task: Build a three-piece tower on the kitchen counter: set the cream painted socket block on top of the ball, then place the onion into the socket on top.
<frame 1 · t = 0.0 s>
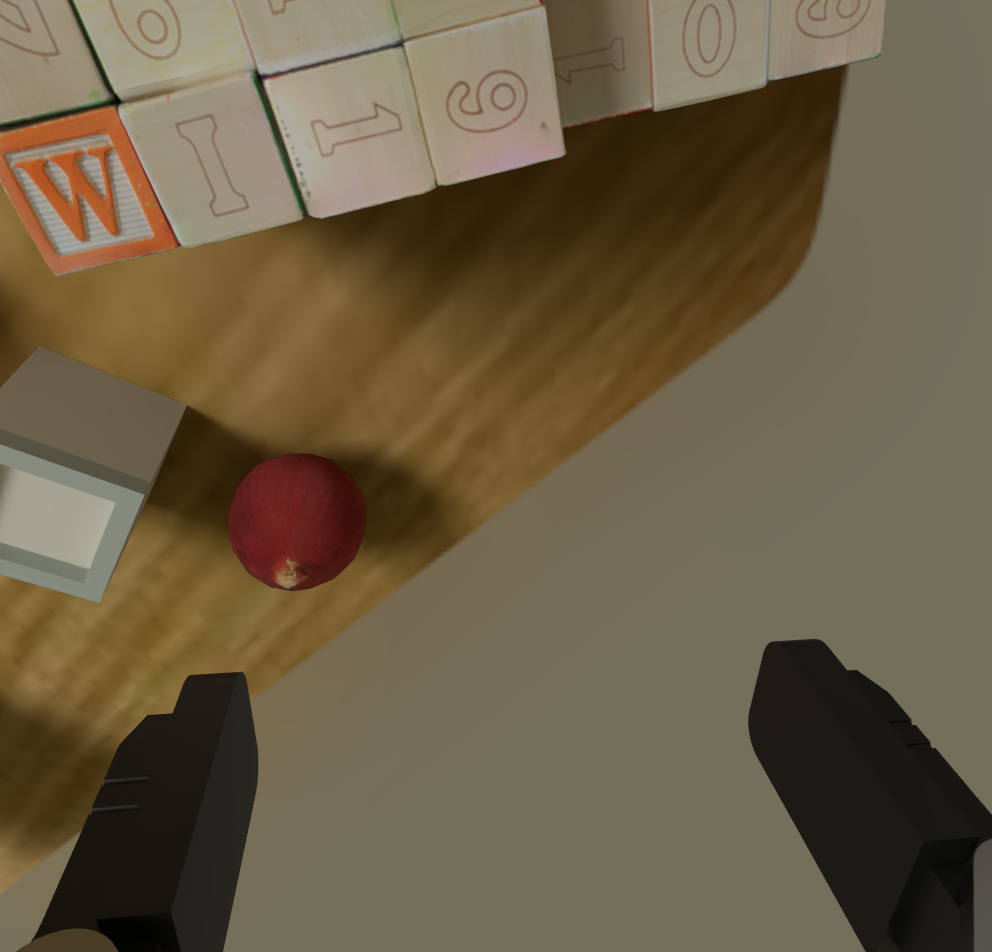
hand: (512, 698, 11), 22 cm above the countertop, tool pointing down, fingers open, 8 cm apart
stack of blocks: (439, 2, 25), on the countertop
onion: (307, 470, 35), on the countertop
socket block: (97, 429, 32), on the countertop
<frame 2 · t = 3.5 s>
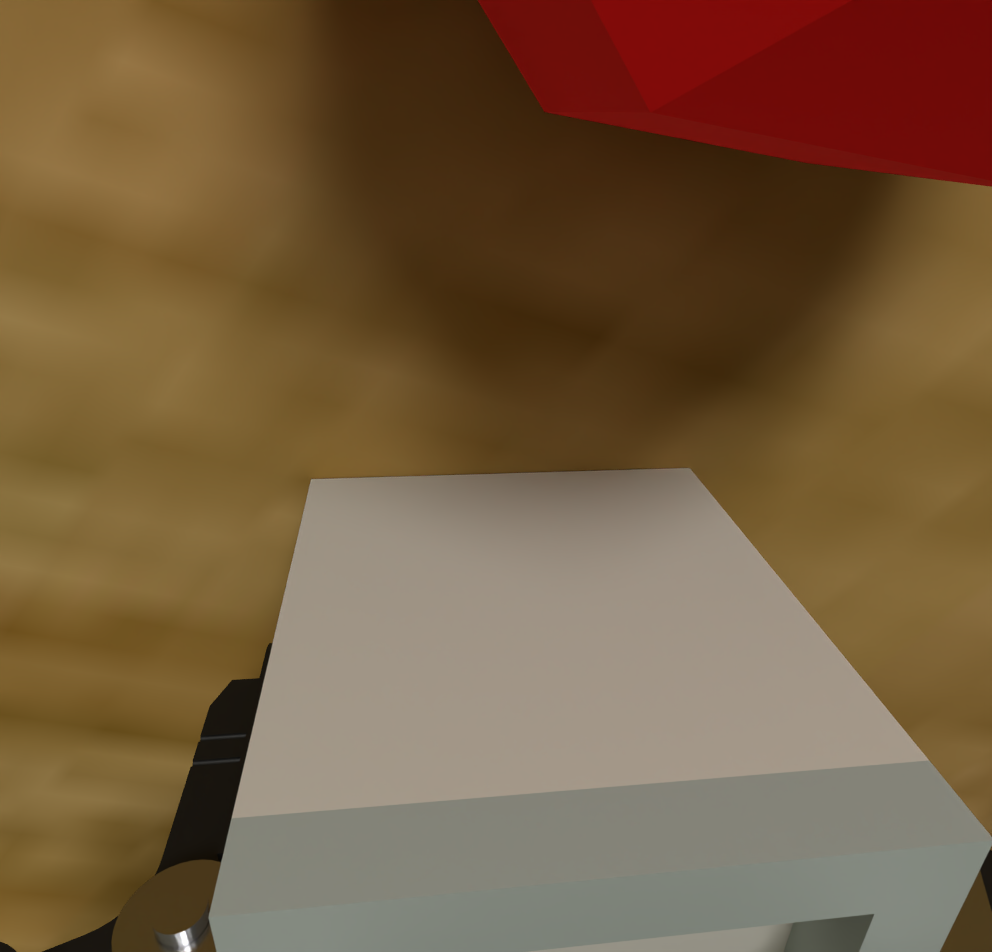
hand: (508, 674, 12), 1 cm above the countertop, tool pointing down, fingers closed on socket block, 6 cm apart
socket block: (500, 626, 13), on the countertop, touching gripper
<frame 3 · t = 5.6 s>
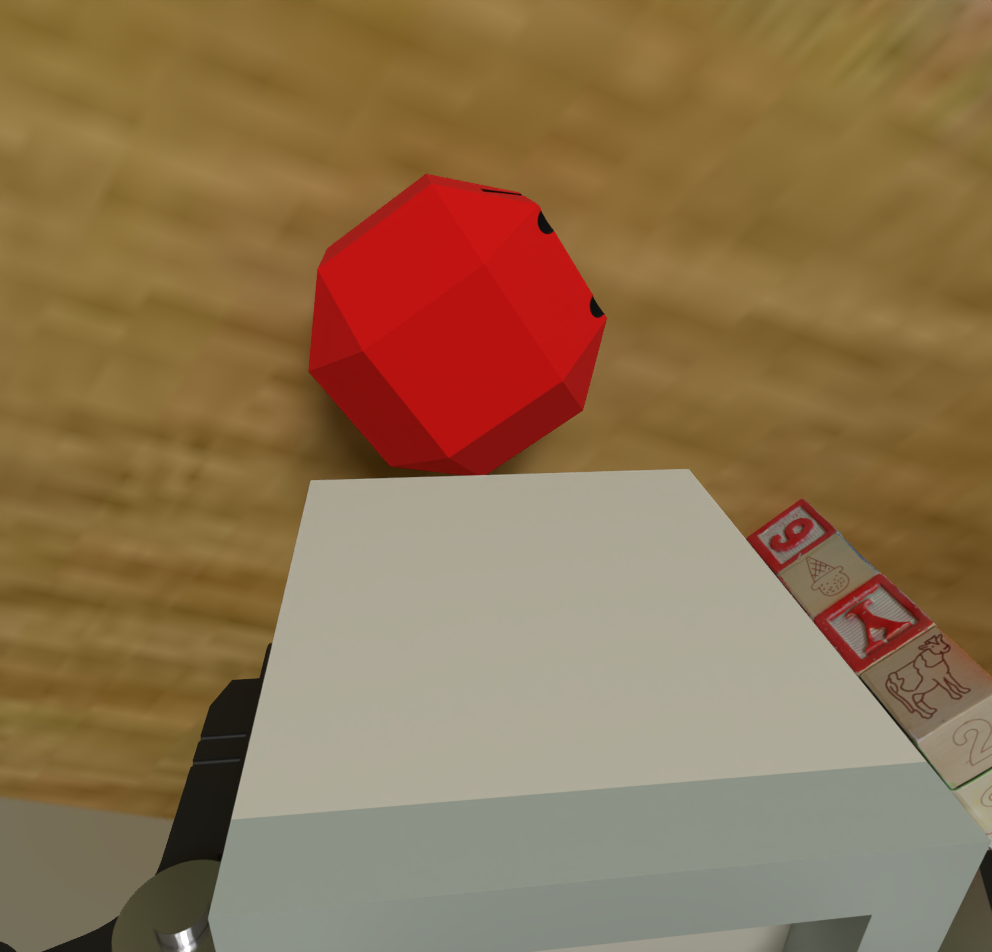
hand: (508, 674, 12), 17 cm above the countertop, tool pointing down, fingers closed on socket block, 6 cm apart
stack of blocks: (841, 663, 37), on the countertop
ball: (446, 299, 26), on the countertop
socket block: (500, 627, 13), point 16 cm above the countertop, touching gripper
when the fingers open (10 cm above the countertop, at t = 7.6 s): socket block drops 1 cm, resting on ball.
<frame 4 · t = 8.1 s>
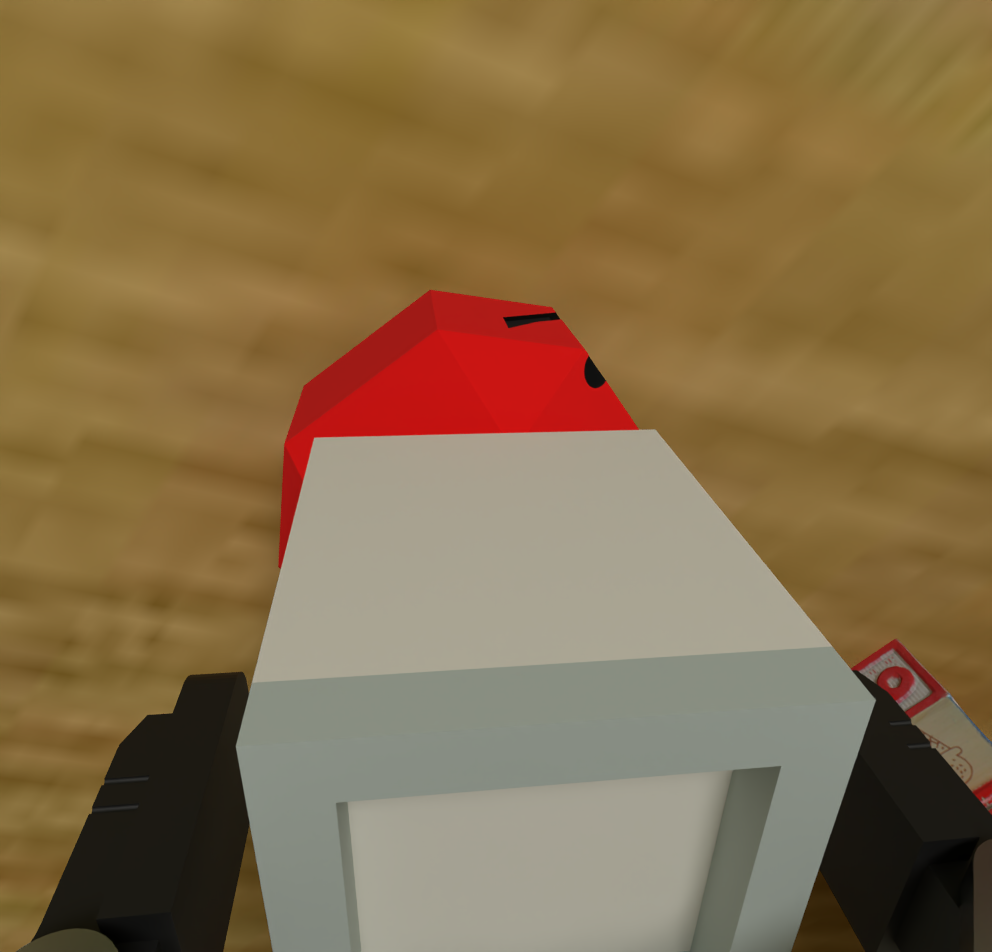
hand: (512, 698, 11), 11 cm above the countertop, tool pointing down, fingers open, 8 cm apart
stack of blocks: (935, 804, 32), on the countertop
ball: (458, 424, 21), on the countertop, touching socket block
socket block: (486, 576, 14), point 8 cm above the countertop, touching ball
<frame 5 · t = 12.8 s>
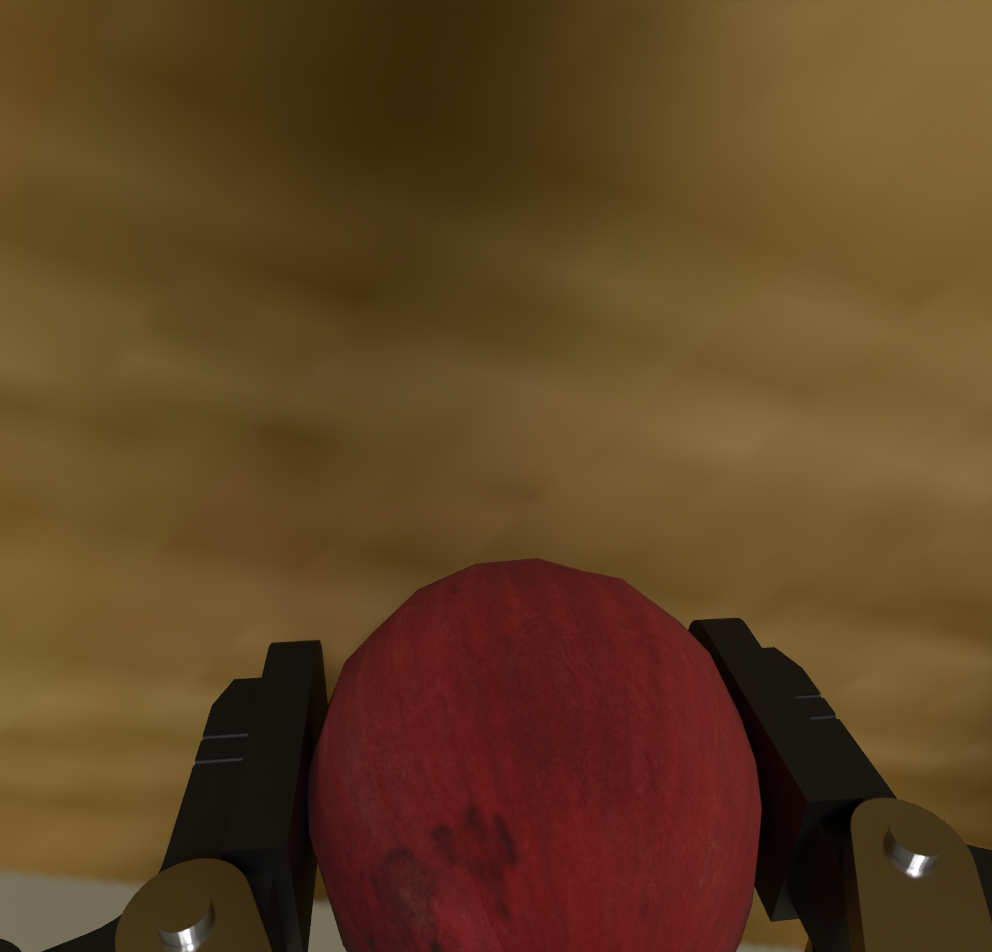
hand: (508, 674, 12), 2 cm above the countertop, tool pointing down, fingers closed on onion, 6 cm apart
onion: (494, 606, 13), on the countertop, touching gripper
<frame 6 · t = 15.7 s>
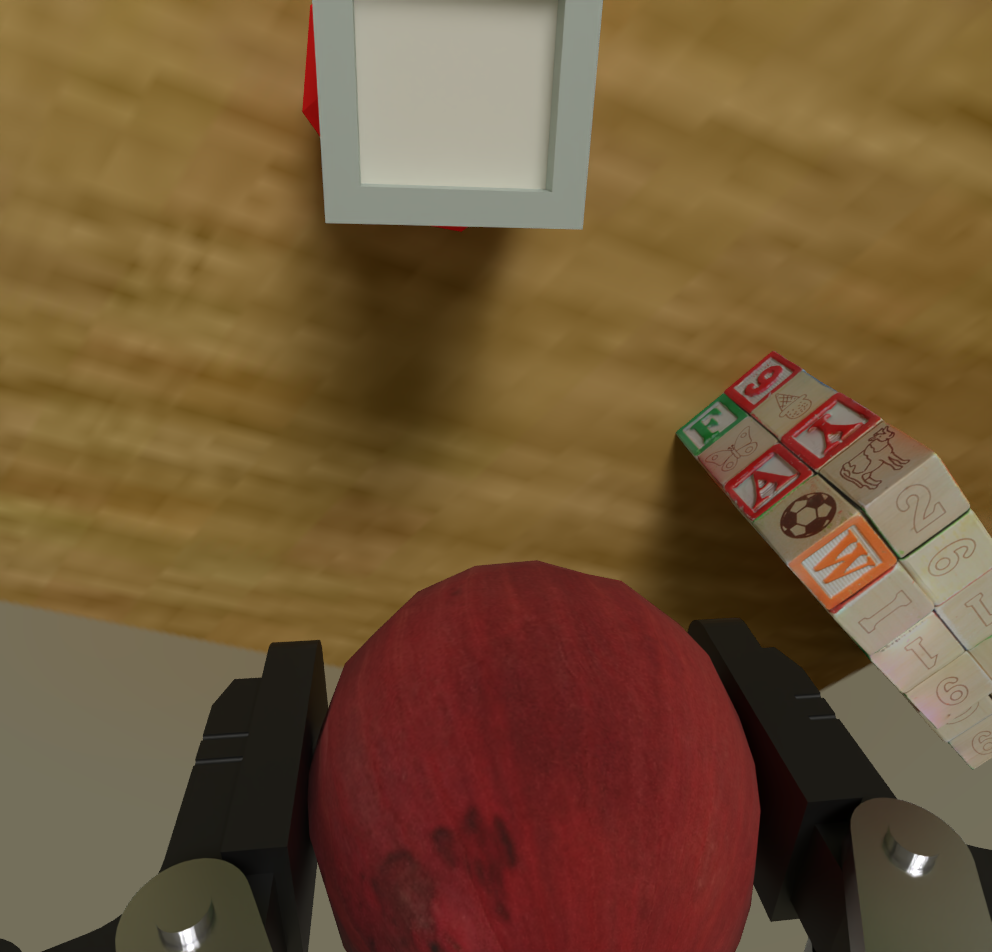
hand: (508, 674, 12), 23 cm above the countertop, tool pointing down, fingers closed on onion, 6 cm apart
stack of blocks: (821, 517, 41), on the countertop
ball: (430, 93, 29), on the countertop, touching socket block
onion: (494, 607, 13), point 21 cm above the countertop, touching gripper
socket block: (440, 88, 22), point 8 cm above the countertop, touching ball
when the fingers open (16 cm above the countertop, at t = 18.5 s): onion stays where it is, resting on socket block.
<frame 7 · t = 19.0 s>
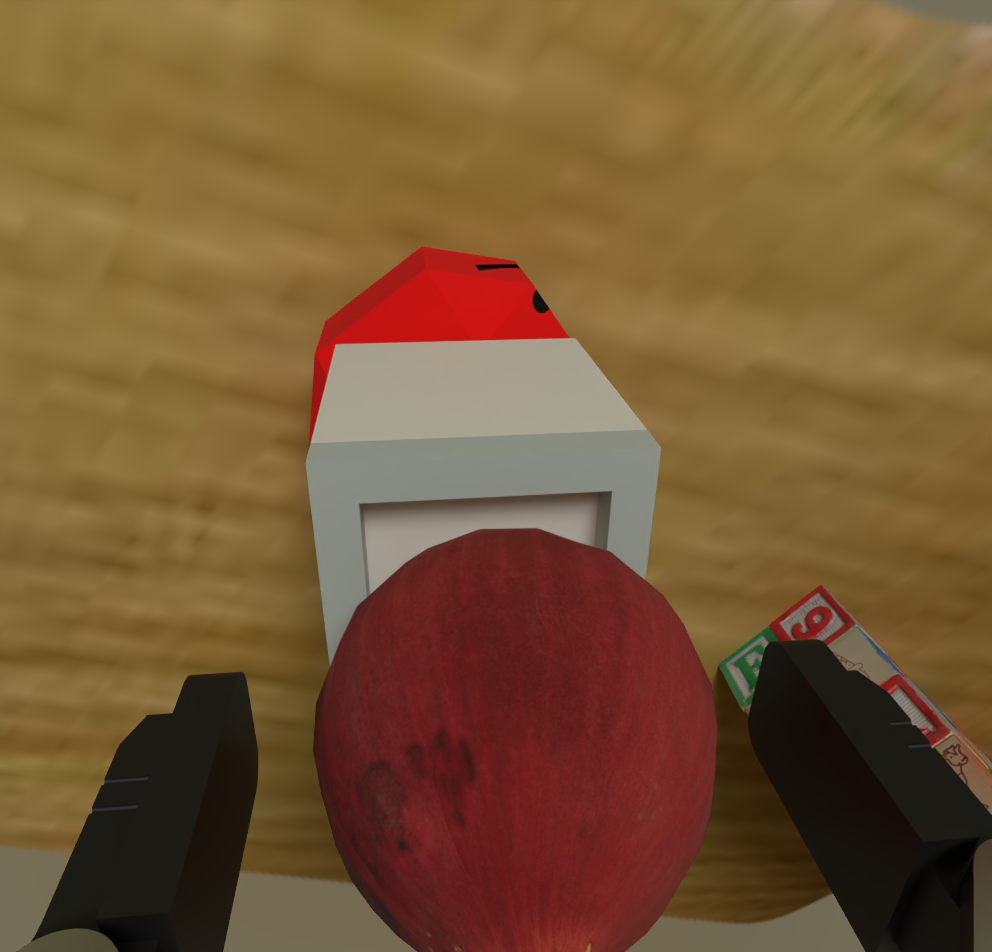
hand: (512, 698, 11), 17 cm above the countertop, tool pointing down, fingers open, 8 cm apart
stack of blocks: (875, 726, 38), on the countertop
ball: (445, 360, 27), on the countertop, touching socket block
onion: (507, 572, 14), point 13 cm above the countertop, touching socket block
socket block: (459, 450, 20), point 8 cm above the countertop, touching onion, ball
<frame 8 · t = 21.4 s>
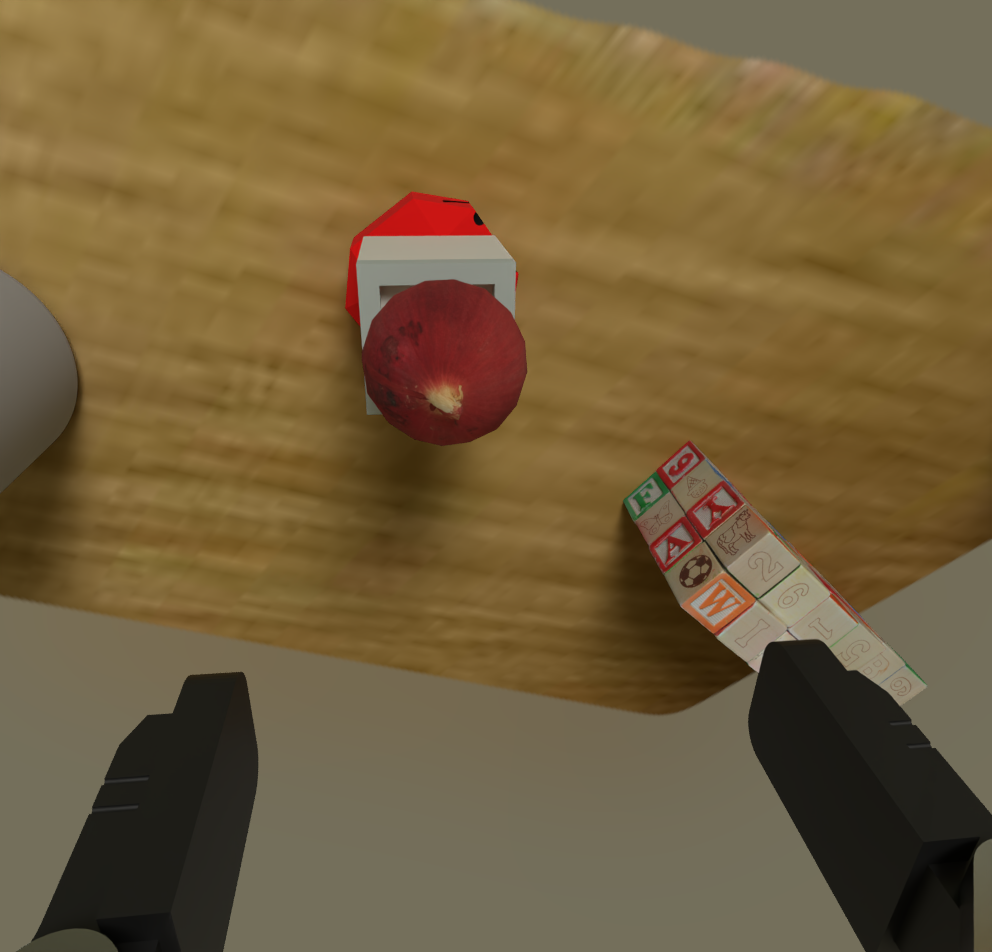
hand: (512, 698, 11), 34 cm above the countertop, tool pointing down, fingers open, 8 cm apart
stack of blocks: (742, 554, 54), on the countertop
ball: (428, 269, 42), on the countertop, touching socket block
onion: (448, 334, 30), point 13 cm above the countertop, touching socket block
socket block: (431, 301, 35), point 8 cm above the countertop, touching onion, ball
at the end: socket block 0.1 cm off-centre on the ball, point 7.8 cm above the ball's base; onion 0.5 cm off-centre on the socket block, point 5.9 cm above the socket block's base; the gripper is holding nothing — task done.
